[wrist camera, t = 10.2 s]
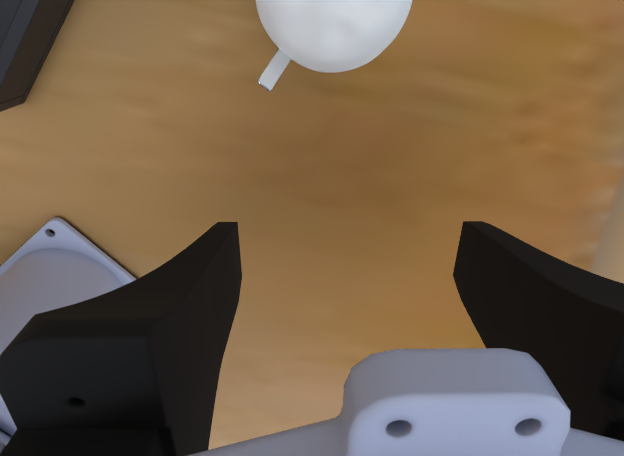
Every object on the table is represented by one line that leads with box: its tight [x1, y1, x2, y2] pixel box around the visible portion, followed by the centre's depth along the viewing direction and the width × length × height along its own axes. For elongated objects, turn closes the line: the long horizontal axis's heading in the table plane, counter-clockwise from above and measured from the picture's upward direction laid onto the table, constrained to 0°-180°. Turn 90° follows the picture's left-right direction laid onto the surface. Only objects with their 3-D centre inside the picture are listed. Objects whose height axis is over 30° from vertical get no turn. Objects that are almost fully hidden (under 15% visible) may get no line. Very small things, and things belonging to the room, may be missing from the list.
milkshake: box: [256, 0, 412, 92], centre depth 15 cm, size 5×5×10 cm
